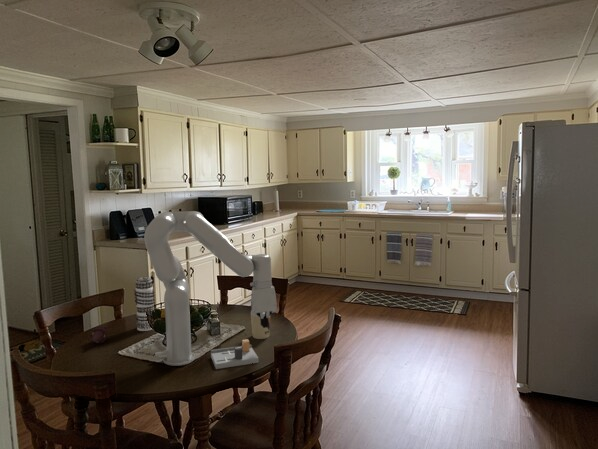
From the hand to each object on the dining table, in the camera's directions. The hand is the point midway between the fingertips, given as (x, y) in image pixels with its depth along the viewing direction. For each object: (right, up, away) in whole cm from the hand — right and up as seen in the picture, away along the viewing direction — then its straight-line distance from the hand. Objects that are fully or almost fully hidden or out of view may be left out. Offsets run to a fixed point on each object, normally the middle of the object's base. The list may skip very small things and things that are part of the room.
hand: (264, 326), depth 192 cm
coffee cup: (-3, -9, +20) cm, 22 cm away
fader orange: (-8, -10, -1) cm, 12 cm away
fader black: (-10, -11, -9) cm, 17 cm away
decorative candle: (-60, -8, +32) cm, 69 cm away
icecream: (-75, -10, +13) cm, 77 cm away
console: (-12, -12, -6) cm, 18 cm away
